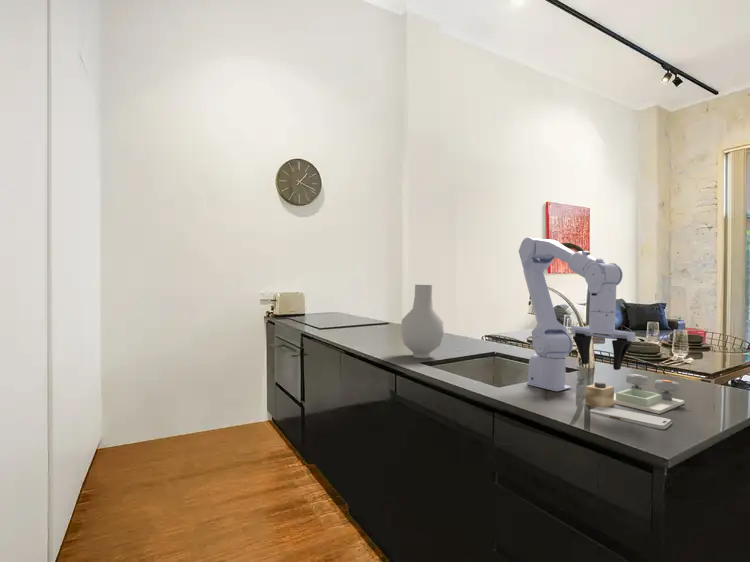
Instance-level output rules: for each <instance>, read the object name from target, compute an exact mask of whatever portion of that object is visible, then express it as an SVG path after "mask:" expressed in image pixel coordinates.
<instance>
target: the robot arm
mask: <svg viewBox="0 0 750 562" xmlns="http://www.w3.org/2000/svg"><path fill="white" fill-rule="evenodd" d="M520 243H521V244H520V246H519V249H518V254H519V258H520V262H521V265H522V269H523V275H524V278H525V282H526V286H527V291H528V293H529V298H530V300H531V301H530V302H531V304H532V308H533V311H534V316H535V319H536V323H537V325H536V326H535V327H534V328H533V329H532V331H531V336H532V343H531V344H532V347H533V351H534V352H535V353H533V354H532V355H531V356H530V358H529V361H528V375H527V377H528V381H527V382H526V385H528V386H533V387H535V388H541V389H545V390H549V391H553V392H561V391H564V390H570V389H572V386H570V385H567V384H566V366H567V365H566V363H567V361H566V360H567V358H569V354H570V353H571V352H572V351H573V347H574V344H575V345H576V348H577V349H578V352H579V355H580V361H581V364H582V365H588V364H589V361H590V347H591V341H592V338H593V337H595V338H596V337H597V338H598V337H599V338H604V339H605V338H606V339H613V340H611V343H612V351H613V362H612V364H613V367H612V368H613V370H614V371H619V370H621V368H622V364H623V360H624V358H625V356H626V354H627V352H628V350H629V349H630V347H631V346H632V343H633V342H635V341H636V332H634V331H633V332H632V331H624V330H618V329H616V306H617V286H618V285H619V284H621V283H622V282H621V281H622V279H623V271H622V268H621V266H619V265H618V264H617V263H613V262H611V263H606V262H604V259H603V258H598V257H597V258H596V257H595V256H593V255H591V252H590V251H588V250H582V251H581V250H580V251H576V252H575V251H573V250H572V249H570V248H568V247H567V246H565V245H563V244H562V243H561V242H560V241H558V240H555V239H554V238H553V239H552V238H550V239H548V238H544V239H543V238H534V237H533V238H532V237H525V238H523V240H522V241H521V242H520ZM555 258H556V259H558V260H559V261H561V262H564V263H567V264H568V265H567V266H568V269H569V270H570V271H572V272H574V273H576V274H577V275H579V276H581V277H582V278H584V280H585V282H586V284H587V290H588V293H589V310H588V311H589V313H588V315H589V316H588V326H575V325H574V326H571V328H570V334H569V333H568V330H567V327H566V326H564V324H562V323H561V322H559V320H558V319H557V315H556V312H555V309H554V305H553V301H552V298H551V295H550V291H549V288H548V284H547V282H546V281H547V280H546V278H545V274H544V272H545V270H547V269H548V268H549V267H550V266H551V264H552V263H553V262H554V260H555ZM571 335H573V336H571ZM573 341H574V342H573Z"/></svg>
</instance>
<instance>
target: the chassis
mask: <svg viewBox="0 0 750 562" xmlns="http://www.w3.org/2000/svg"><path fill="white" fill-rule="evenodd" d="M625 377H626V379H625V382H626V383H628V384H631V385H632V386H631V387H630V388H627V389H623V390H620V391H617V392H614V404H617V405H620V406H625V407H629V408H633V409H637V410H642V411H646V412H648V413H649V412H650V413H654V414H659V415H660V414H663V413H665V412H667V411H670V410H673V409H675V408H677V407H679V406H682V405H684V404H685V400H683V399H680V398H679V399H678V398H674V397H673V393H672V392H669V393H664V391H661V393H657V392H653V391H647V390H643V387H642V386H648V385H649V377H648V376H646V375H641V374H636V373H634V374H633V373H630V374H629V373H628V374H626V375H625Z"/></svg>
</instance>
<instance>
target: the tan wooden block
mask: <svg viewBox="0 0 750 562" xmlns="http://www.w3.org/2000/svg"><path fill="white" fill-rule="evenodd" d="M614 393H615V386H614V385H613V386H612V385H609V384H608V385H607V384H606V383H605V382H599V381H596V382H594V384H590V385H585V406H589V407H593V408H595V407H597V406H598V407H612V406H614V404H615V403H614Z"/></svg>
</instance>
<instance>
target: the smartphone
mask: <svg viewBox="0 0 750 562" xmlns="http://www.w3.org/2000/svg"><path fill="white" fill-rule="evenodd" d="M588 412H589V413H591V414H594V415H598V416H603V417H608V418H612V419H616V420H618V421H619V420H620V421H624V422H627V423H632V424H636V425H641V426H644V427H649V428H653V429H657V430H666V429H667V428H669V427H670V426H671V425H672V424H673V420H672V419H670V418H667V417H661V416H658V415H656V416H655V415H650V414H646V413H640V412H635V411H632V410H631V411H630V410H625V409H621V408H620V409H619V408H616V407H615V408H614V407H611V406H609V407H598V406H597V407H593V408H591V409H589V411H588Z"/></svg>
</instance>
